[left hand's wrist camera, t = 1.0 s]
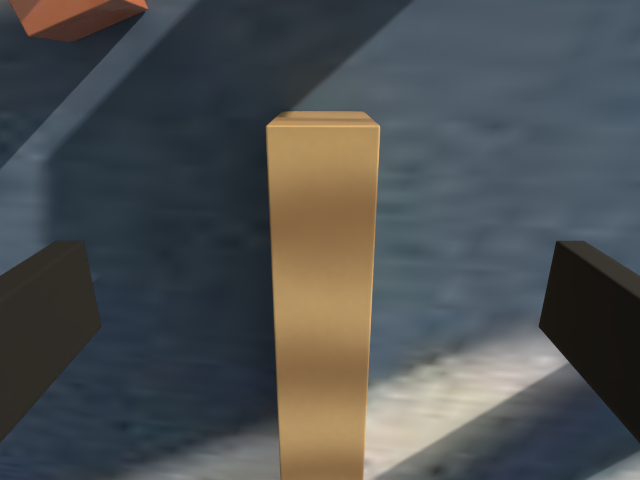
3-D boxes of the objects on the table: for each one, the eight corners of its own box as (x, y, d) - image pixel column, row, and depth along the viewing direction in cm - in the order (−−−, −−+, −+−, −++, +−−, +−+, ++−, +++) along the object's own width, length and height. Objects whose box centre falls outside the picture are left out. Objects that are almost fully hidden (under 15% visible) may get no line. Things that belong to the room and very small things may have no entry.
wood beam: (281, 111, 26) (265, 125, 19) (364, 111, 26) (380, 125, 19) (291, 441, 36) (283, 539, 28) (352, 441, 36) (360, 539, 28)
